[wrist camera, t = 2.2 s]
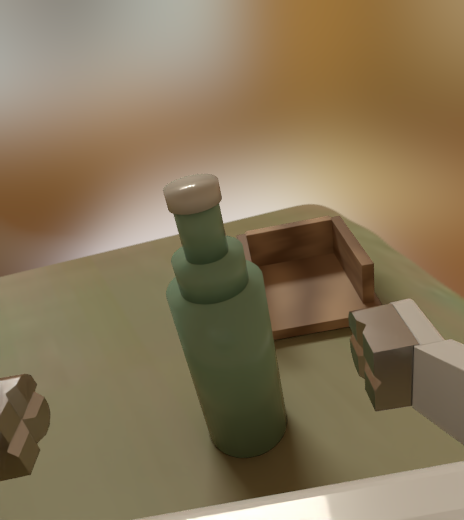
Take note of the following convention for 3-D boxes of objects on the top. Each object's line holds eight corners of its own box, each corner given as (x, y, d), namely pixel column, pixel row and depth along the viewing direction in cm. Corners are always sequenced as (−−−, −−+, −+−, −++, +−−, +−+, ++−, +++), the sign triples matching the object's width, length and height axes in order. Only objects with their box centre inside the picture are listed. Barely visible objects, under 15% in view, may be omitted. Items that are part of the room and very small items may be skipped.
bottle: (209, 464, 28) (127, 217, 19) (208, 398, 33) (142, 177, 24) (293, 449, 27) (251, 193, 19) (279, 385, 32) (240, 157, 23)
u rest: (250, 344, 37) (240, 298, 34) (239, 273, 47) (231, 234, 45) (386, 319, 37) (386, 271, 34) (345, 253, 47) (343, 213, 44)
